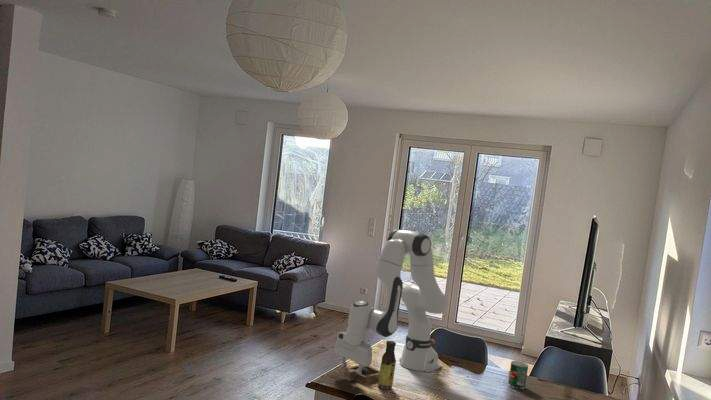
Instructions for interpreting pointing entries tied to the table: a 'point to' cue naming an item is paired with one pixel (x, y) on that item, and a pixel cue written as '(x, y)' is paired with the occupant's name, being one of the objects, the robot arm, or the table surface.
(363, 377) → the wooden frame with handle
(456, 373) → the table surface
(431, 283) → the robot arm
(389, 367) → the sauce bottle
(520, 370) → the canned tomato
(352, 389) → the table surface
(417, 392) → the table surface
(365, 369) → the grey plunger shape
